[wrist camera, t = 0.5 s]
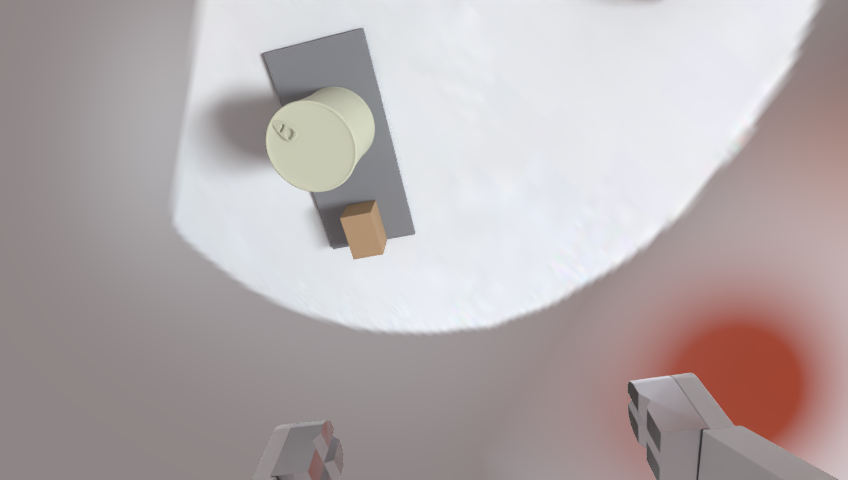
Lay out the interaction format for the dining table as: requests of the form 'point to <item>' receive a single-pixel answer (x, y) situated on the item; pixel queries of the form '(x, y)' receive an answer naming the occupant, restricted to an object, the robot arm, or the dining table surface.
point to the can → (320, 138)
